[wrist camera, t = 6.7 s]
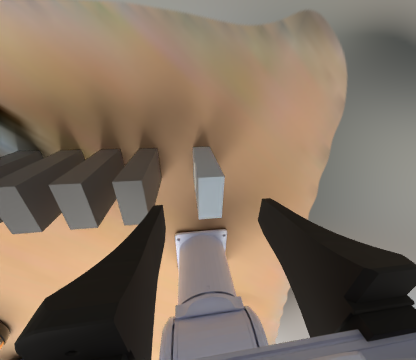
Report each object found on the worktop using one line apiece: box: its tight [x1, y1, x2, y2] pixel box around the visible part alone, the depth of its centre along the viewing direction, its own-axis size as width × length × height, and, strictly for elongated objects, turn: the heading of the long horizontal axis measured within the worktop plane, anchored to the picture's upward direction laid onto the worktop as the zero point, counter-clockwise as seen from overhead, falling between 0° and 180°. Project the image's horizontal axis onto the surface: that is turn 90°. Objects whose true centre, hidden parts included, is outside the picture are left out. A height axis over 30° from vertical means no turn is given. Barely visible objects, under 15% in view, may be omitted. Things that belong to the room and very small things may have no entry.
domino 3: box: [49, 149, 124, 230], centre depth 16 cm, size 2×4×8 cm, turn 179°
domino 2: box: [0, 150, 85, 234], centre depth 15 cm, size 2×4×8 cm, turn 179°
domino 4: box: [112, 148, 161, 225], centre depth 16 cm, size 2×4×8 cm, turn 179°
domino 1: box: [0, 151, 43, 223], centre depth 15 cm, size 2×4×8 cm, turn 179°
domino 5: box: [193, 147, 225, 219], centre depth 17 cm, size 2×4×8 cm, turn 179°
